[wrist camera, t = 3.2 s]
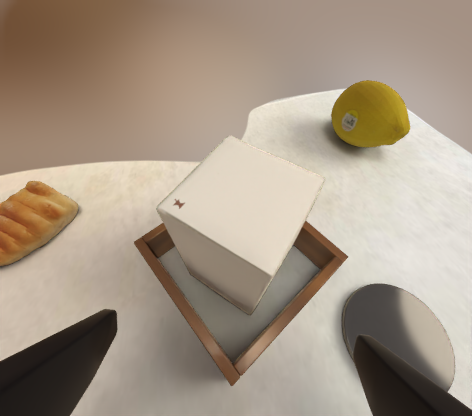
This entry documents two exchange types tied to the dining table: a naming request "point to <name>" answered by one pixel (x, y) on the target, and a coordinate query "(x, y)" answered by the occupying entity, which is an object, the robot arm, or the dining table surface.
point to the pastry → (32, 220)
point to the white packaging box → (239, 218)
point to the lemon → (370, 115)
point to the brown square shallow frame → (328, 262)
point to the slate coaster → (400, 329)
